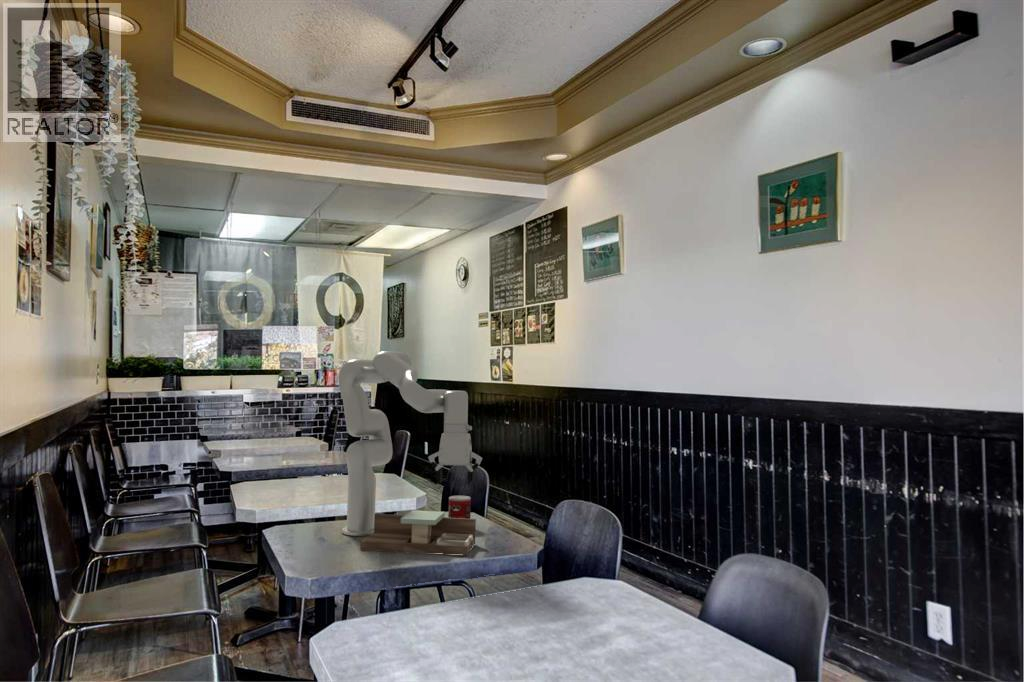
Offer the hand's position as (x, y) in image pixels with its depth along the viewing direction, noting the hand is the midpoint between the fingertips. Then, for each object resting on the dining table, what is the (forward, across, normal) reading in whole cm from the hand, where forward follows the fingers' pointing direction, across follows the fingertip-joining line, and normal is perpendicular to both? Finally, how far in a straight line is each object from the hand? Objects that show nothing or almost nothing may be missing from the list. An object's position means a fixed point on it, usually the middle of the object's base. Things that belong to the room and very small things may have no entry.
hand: (454, 483), depth 208 cm
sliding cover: (+12, +11, -2) cm, 16 cm away
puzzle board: (+21, +12, 0) cm, 24 cm away
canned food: (+21, +5, -30) cm, 37 cm away
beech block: (+21, +11, 0) cm, 23 cm away
